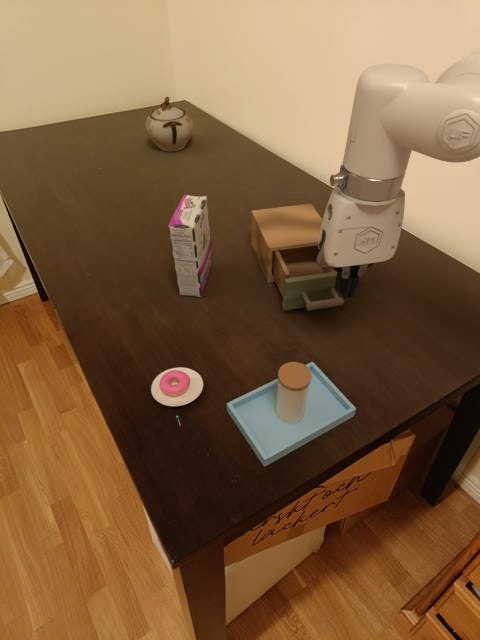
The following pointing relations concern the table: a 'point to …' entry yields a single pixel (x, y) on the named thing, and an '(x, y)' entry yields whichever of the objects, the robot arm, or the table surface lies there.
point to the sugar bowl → (169, 127)
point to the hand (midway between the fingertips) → (344, 292)
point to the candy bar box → (191, 245)
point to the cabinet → (282, 232)
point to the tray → (282, 438)
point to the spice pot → (292, 392)
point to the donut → (177, 387)
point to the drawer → (304, 279)
